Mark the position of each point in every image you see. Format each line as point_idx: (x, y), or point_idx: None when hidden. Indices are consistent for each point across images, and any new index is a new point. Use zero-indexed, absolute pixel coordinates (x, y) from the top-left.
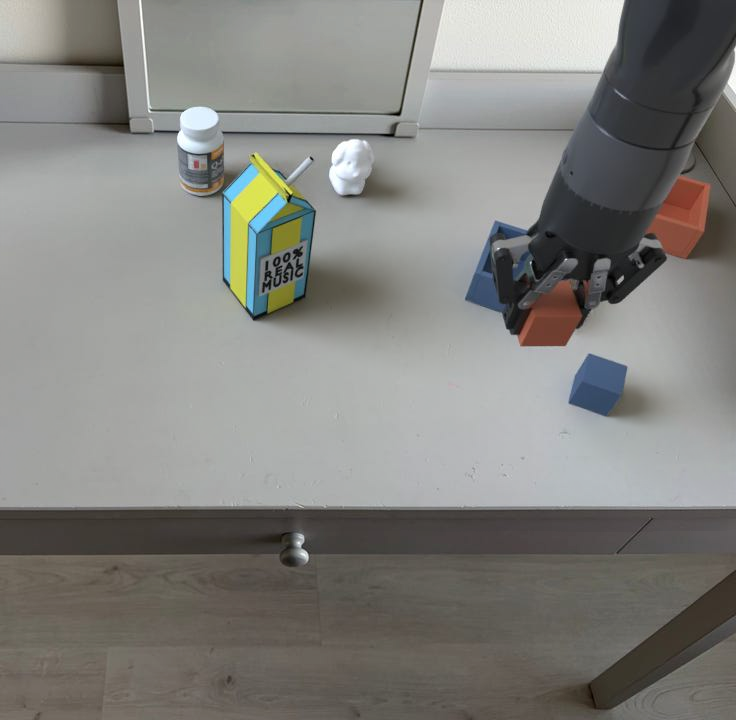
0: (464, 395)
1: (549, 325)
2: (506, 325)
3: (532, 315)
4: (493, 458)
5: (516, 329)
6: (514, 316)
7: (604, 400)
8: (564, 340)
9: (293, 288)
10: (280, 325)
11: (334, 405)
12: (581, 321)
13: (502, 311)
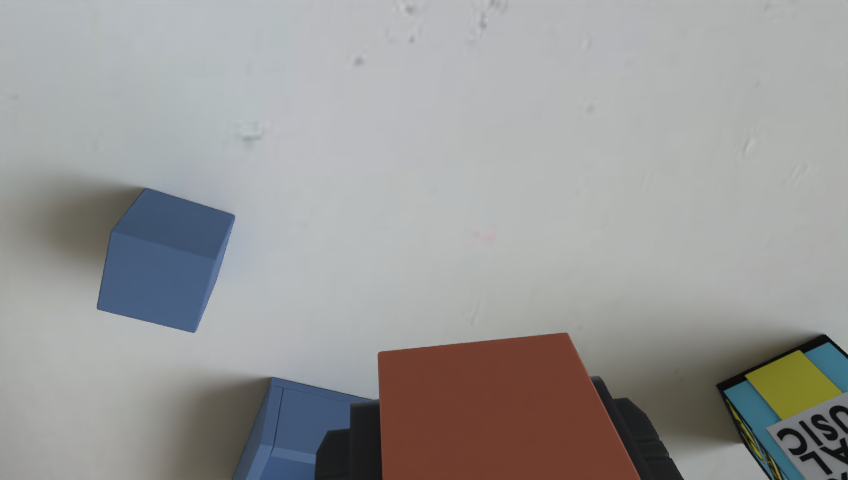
0: (465, 215)
1: (527, 454)
2: (644, 416)
3: None
4: (429, 56)
5: (608, 404)
6: (653, 468)
7: (154, 219)
8: (399, 377)
9: (772, 403)
10: (780, 329)
11: (743, 170)
12: (327, 473)
13: (356, 399)
